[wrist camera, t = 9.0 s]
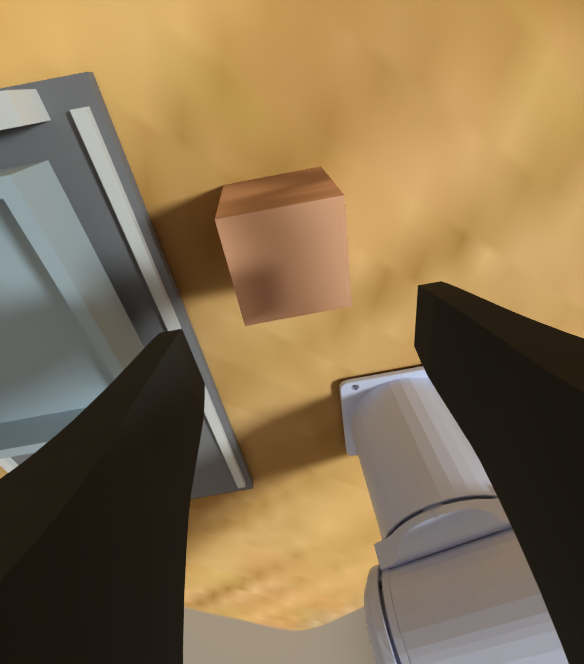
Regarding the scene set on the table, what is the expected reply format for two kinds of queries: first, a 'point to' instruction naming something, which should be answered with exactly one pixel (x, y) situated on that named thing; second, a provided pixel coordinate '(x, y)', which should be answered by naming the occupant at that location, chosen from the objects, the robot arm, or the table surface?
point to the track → (115, 237)
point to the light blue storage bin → (52, 313)
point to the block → (285, 245)
